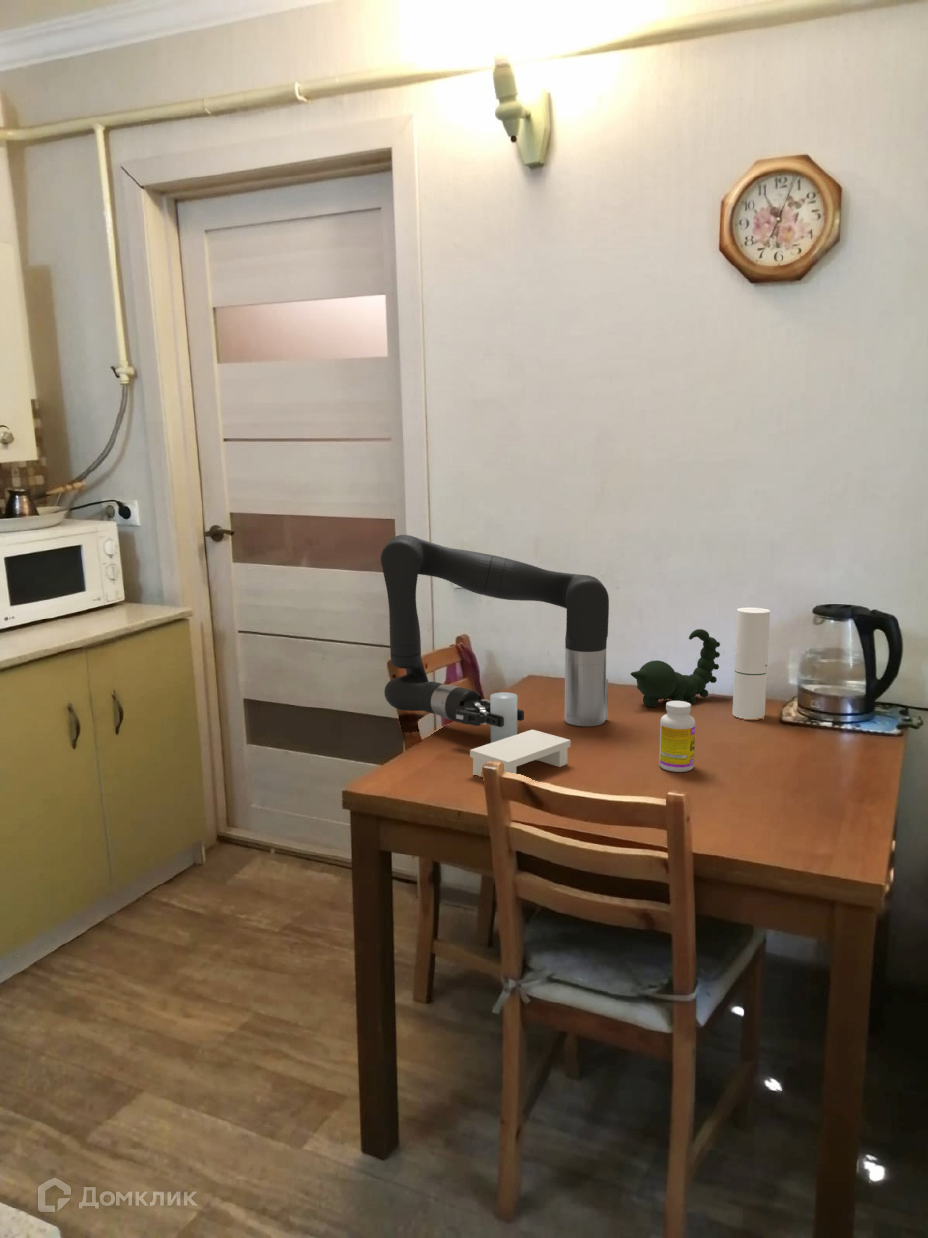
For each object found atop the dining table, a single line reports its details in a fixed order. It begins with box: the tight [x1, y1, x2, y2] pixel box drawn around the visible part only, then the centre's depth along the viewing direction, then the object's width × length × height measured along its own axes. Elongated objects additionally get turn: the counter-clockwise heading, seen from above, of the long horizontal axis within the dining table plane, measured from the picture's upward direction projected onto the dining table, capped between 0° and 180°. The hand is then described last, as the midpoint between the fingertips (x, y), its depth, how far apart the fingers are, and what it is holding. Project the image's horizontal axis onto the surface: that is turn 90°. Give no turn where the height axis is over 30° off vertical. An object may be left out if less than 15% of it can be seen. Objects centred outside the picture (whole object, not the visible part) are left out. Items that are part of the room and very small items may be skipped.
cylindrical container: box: [731, 607, 771, 719], centre depth 211 cm, size 7×7×25 cm
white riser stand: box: [469, 729, 571, 776], centre depth 179 cm, size 18×10×5 cm, turn 135°
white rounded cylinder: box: [489, 691, 518, 743], centre depth 193 cm, size 6×6×11 cm
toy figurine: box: [630, 628, 721, 708], centre depth 224 cm, size 9×19×25 cm
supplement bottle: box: [658, 700, 696, 773], centre depth 179 cm, size 7×7×13 cm
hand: (512, 718), depth 191 cm, fingers closed on white rounded cylinder, 5 cm apart
